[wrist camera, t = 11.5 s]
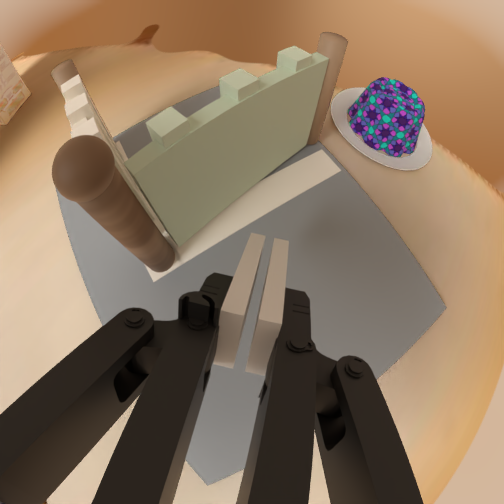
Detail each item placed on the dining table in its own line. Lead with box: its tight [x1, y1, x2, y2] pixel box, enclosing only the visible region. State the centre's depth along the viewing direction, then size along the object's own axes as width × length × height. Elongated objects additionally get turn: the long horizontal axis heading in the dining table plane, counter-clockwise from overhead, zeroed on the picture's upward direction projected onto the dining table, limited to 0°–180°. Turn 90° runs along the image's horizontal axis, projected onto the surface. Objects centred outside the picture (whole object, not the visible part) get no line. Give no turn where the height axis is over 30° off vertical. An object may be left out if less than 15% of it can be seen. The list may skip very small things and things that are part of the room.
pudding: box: [331, 77, 432, 170], centre depth 23 cm, size 12×12×5 cm
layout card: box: [56, 86, 446, 485], centre depth 21 cm, size 30×23×1 cm
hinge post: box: [52, 135, 175, 272], centre depth 14 cm, size 3×3×13 cm
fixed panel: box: [51, 59, 155, 221], centre depth 17 cm, size 12×2×11 cm, turn 33°
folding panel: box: [124, 32, 348, 247], centre depth 16 cm, size 15×2×10 cm, turn 134°
